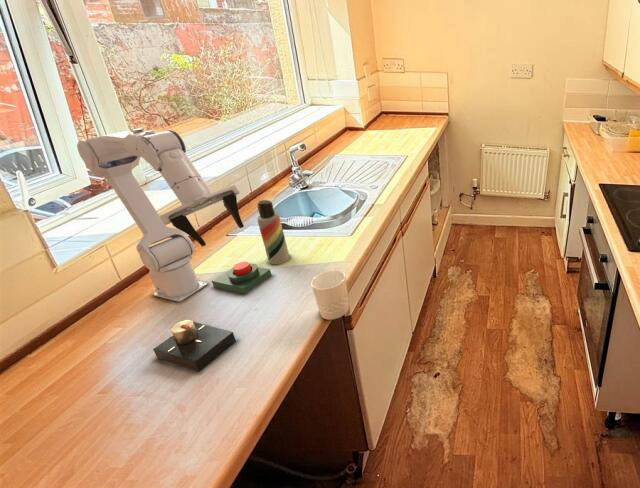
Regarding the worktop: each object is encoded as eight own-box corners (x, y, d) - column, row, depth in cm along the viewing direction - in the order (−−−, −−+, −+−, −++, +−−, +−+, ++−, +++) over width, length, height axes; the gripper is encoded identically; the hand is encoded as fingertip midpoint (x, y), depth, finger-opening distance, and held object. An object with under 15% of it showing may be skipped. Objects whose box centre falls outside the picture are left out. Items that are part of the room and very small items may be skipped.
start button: (231, 274, 111) (229, 268, 110) (243, 266, 114) (241, 260, 113) (242, 277, 110) (240, 270, 109) (254, 268, 113) (252, 262, 112)
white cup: (341, 297, 108) (335, 266, 104) (357, 309, 104) (351, 278, 99) (312, 312, 102) (305, 280, 98) (328, 326, 98) (320, 293, 94)
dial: (171, 342, 88) (165, 329, 87) (189, 330, 92) (183, 317, 90) (185, 346, 87) (179, 333, 86) (202, 333, 91) (197, 320, 89)
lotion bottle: (264, 261, 123) (248, 203, 115) (282, 252, 127) (267, 195, 119) (276, 266, 120) (260, 207, 112) (293, 257, 125) (279, 199, 117)
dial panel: (157, 359, 88) (152, 348, 87) (196, 330, 96) (192, 320, 95) (199, 372, 85) (194, 361, 84) (236, 341, 93) (232, 331, 92)
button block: (213, 287, 111) (209, 275, 109) (241, 269, 119) (238, 258, 117) (245, 294, 108) (241, 282, 107) (271, 275, 116) (268, 264, 115)
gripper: (144, 193, 79) (185, 251, 80) (223, 163, 88) (259, 216, 89) (148, 202, 84) (186, 255, 86) (222, 173, 93) (256, 222, 95)
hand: (223, 236), depth 88 cm, fingers open, 7 cm apart
